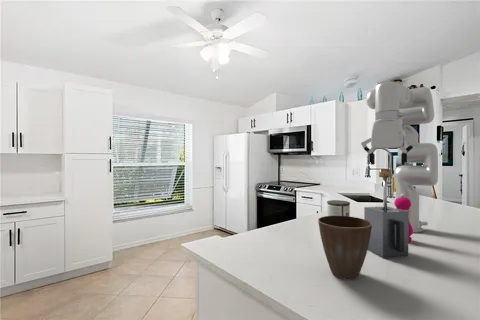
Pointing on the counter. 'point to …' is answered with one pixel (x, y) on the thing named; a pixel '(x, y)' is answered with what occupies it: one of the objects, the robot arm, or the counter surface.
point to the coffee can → (338, 208)
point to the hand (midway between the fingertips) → (387, 164)
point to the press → (388, 231)
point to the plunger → (385, 184)
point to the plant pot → (345, 244)
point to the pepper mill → (405, 205)
